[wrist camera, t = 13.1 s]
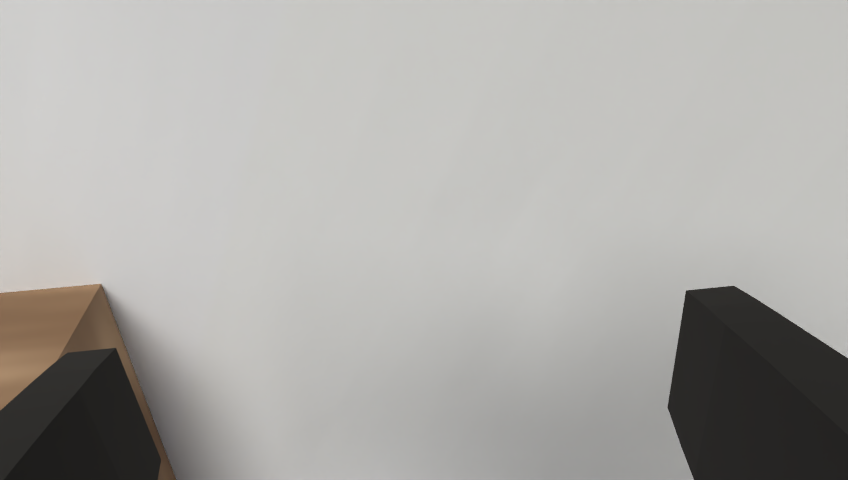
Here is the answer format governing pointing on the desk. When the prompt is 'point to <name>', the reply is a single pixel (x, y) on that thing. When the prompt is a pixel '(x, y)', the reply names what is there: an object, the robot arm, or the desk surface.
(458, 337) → the desk surface
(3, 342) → the pusher bar
